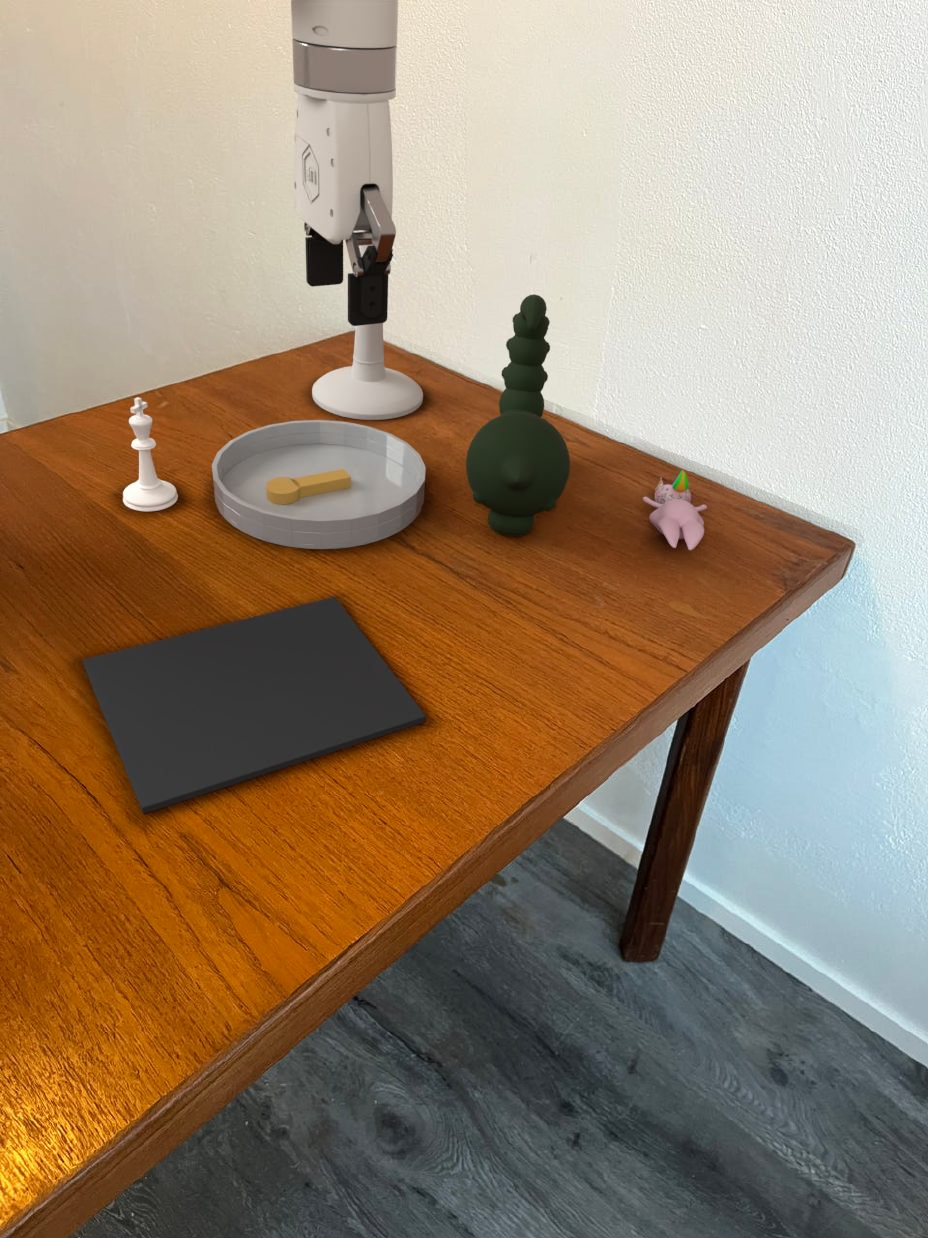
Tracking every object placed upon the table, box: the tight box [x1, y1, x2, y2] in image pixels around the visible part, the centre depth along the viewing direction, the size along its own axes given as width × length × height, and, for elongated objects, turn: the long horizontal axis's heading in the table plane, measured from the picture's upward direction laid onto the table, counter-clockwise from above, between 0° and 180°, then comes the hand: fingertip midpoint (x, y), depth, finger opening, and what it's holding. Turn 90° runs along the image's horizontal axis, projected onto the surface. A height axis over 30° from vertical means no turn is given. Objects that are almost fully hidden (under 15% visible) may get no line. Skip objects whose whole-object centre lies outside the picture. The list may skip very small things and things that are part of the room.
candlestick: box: [311, 230, 424, 421], centre depth 104 cm, size 13×13×30 cm
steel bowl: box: [211, 419, 427, 550], centre depth 93 cm, size 20×20×3 cm
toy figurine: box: [465, 293, 571, 537], centre depth 91 cm, size 9×19×25 cm
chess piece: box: [122, 396, 179, 513], centre depth 88 cm, size 5×5×10 cm
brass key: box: [266, 469, 351, 505], centre depth 93 cm, size 8×3×1 cm, turn 120°
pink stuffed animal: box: [642, 470, 708, 551], centre depth 92 cm, size 6×6×15 cm
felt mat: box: [82, 596, 427, 814], centre depth 70 cm, size 20×16×1 cm
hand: (345, 302), depth 81 cm, fingers open, 9 cm apart
